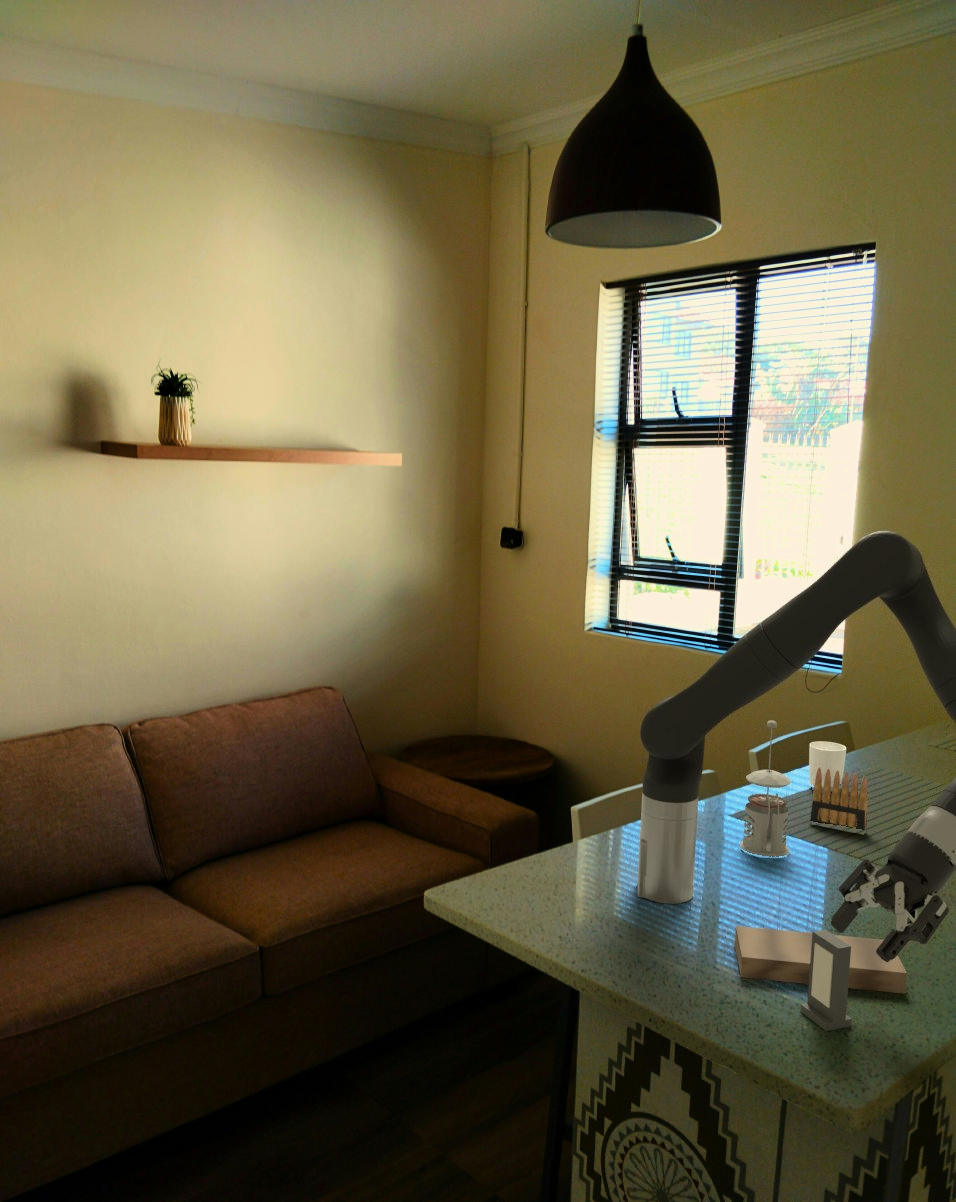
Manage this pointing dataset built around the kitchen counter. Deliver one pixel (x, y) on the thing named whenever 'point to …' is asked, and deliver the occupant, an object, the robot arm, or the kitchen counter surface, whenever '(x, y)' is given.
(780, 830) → the french press
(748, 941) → the wooden block
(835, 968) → the picture frame
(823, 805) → the ammunition clip
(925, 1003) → the kitchen counter surface
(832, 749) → the white cup
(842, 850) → the kitchen counter surface
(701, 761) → the robot arm
